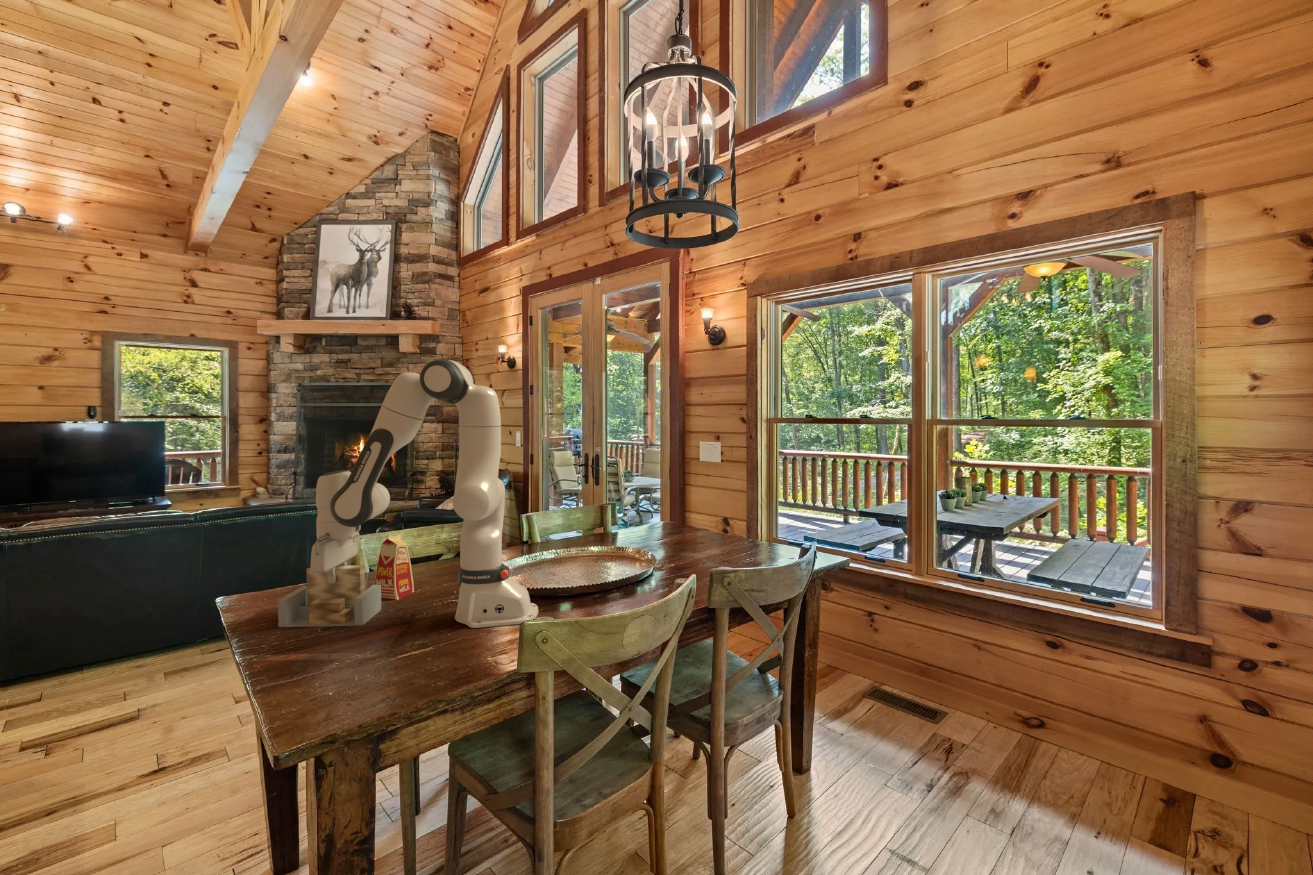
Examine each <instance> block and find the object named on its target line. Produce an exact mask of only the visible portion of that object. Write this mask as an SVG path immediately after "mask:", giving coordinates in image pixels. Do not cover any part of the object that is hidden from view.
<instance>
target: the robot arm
mask: <svg viewBox="0 0 1313 875" xmlns="http://www.w3.org/2000/svg"><path fill="white" fill-rule="evenodd" d="M421 369H422V370H421V371H420V374H419V373H417V372H411V371H409V372H407V371H406V372H401V373H400V374H399V375H398V376H397V377H396V378H395V379H394V381H393V383H392V384H391V385H390V387H389V390H388V391H387V393H386V395H385V397H384V400H383V402H382V404H381V407H380V409H379V412H378V414H377V417H376V419H375V421H374V425H373V427H372V429H371V431H370V433H369V436H368V438H367V440H366V442H365V444H364V446H363V447H362V450H361V451H360V453H359V455H358V458H357V459H356V461H355V464H354V466H353V468H352V470H351V471H350V470H346V469H344V470H343V469H342V470H337V471H335V470H334V471H331V472H326V473H323V474H321V475H320V476H319V477H318V478H317V482H316V488H315V506H316V508H317V509H316V510H317V517H316V518H315V519H316V520H315V521H316V525H315V526H316V541H315V543H314V544H313V545H312V547H311V554H310V567H311V571H312V572H313V573H326V575H327V577H328V583H335V582H336V581H337V575H335V567H336V566H348V560H350V559H352V558H354V557H355V556H357V555H358V553H359V549H360V532H359V531H361V525H363V524H364V523H366V522H367V521H368V520H371V519H373V518H375V517H378V516H379V515H381V514H382V513H384V512H386V510H387V509H388V508H389V506H390V503H391V494H390V492H389V490H388V488H387V487H386V486H385V485H384V484H382V483H379V482H378V479H379V478H380V476H381V473H382V471H383V469H384V467H385V464H387V462H388V460H390V458H391V457H392V456H393V455H394V454H395V453H396V452H398V451H399V450H400V449H402V448H403V447H405V446H406V445H408V444H409V443H411V442H412V441H413V440H414V438H415V437H416V435H417V434H418V432H419V430H420V428H421V427H422V424H423V422H424V420H425V416H426V414H427V412H428V409H429V408H430V406H431V404H432V403H433V402H435V401H441V402H445V403H448V404H452V405H455V406H456V408H457V411H458V445H459V446H458V448H459V449H458V464H457V469H456V477H455V484H454V494H453V497H452V507H453V510H454V512H455V513H456V514H457V516H459V517H460V518H462V520H463V523H462V530H461V535H460V539H459V543H460V544H459V545H460V548H459V550H460V553H459V555H460V560H459V562H460V566H459V567H458V577H457V578H458V579H457V580H458V586H459V593H458V594H459V595H458V601H457V608H456V611H455V615H454V619H455V621H456V622H458V623H461V624H464V625H466V626H468V627H469V628H472V629H475V628H476V629H478V628H489V627H501V626H511V625H512V626H513V625H520V624H521V623H522V622H525V621H527V620H532V621H534V620H535V619H536V618H537V617H538V614H539V606H538V605H537V604H536V603H533V602H531V598H530V593H529V591H528V590H527V588H526V587H525V586H523V585H522V584H520V583H519V582H517V581H516V580H515V579H513V578H511V577H510V565H509V564H507V565H505V563H503V549H502V548H503V544H502V542H503V527H504V520H505V519H504V517H505V507H506V506H505V505H506V504H505V503H506V487H505V484H504V482H503V480H502V479H500V478H499V470H500V469H499V468H500V463H501V457H502V421H501V420H502V418H501V408H500V403H499V398H498V395H497V393H496V391H495V390H494V389H493V388H490V386H485V385H477V384H476V379H475V376H474V374H473V372H472V371H471V370H470V368H468V366H465V365H463V364H461V363H460V362H457V361H455V360H451V359H447V358H446V359H445V358H438V359H433V360H431V361H429V362H427V363H426V364H425V365H424V366H423V368H421ZM533 619H534V620H533ZM521 625H522V624H521Z"/></svg>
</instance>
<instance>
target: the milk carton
mask: <svg viewBox="0 0 1313 875" xmlns="http://www.w3.org/2000/svg"><path fill="white" fill-rule="evenodd" d="M380 544H381V545H380V550H379V556H378V560H377V566H376V570H375V571H376V572H375V578H374V583H373V585H381V600H382V599H383V600H392V601H393V600H395V601H398V600H400V599H402V598H404V597H406V596H408V595H410V594H412V593H414V592H415V587H414V578H413V571H412V563H411V558H410V552H409V547H408V544H407V543H406V542H405V541H404V540H403V539H402V534H397V535H392V534H386V539H385V540H383V541H382V543H380Z"/></svg>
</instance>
